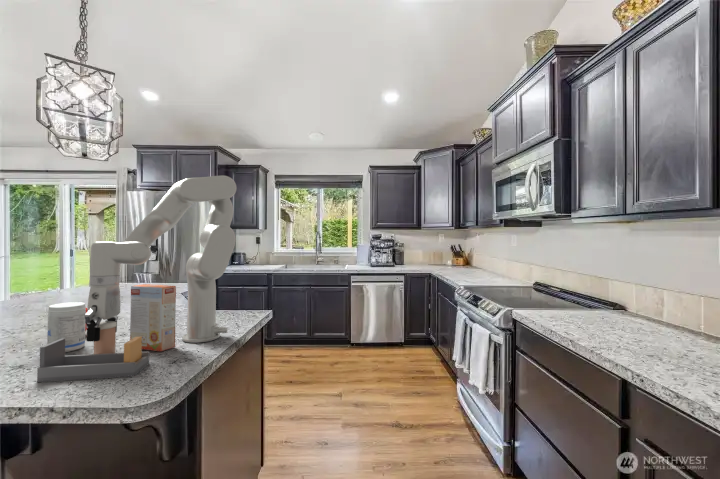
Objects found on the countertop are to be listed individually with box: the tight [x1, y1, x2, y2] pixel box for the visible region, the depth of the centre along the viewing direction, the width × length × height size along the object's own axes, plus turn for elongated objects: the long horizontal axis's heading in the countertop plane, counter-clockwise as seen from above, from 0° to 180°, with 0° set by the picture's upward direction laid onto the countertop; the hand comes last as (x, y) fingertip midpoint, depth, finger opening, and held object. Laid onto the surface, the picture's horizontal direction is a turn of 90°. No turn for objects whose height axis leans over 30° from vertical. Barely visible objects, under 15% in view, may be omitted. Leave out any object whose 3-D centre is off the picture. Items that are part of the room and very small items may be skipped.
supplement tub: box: [46, 301, 87, 353], centre depth 112 cm, size 10×10×15 cm
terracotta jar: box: [93, 320, 118, 354], centre depth 106 cm, size 6×6×10 cm
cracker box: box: [129, 283, 177, 353], centre depth 115 cm, size 14×6×21 cm, turn 71°
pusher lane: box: [36, 338, 150, 383], centre depth 93 cm, size 22×10×8 cm, turn 101°
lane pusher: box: [123, 336, 143, 363], centre depth 94 cm, size 2×7×7 cm, turn 11°
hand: (102, 336), depth 105 cm, fingers open, 9 cm apart
